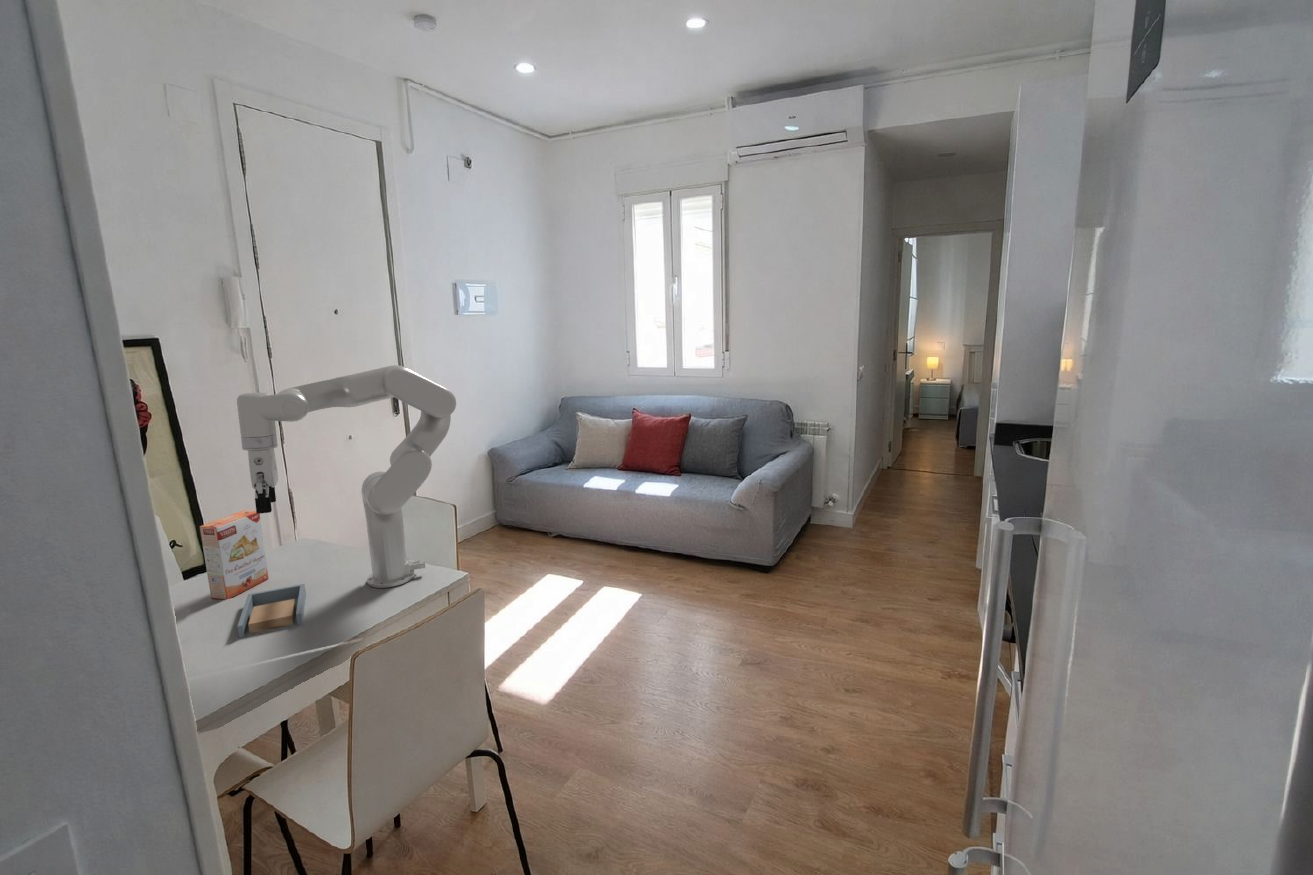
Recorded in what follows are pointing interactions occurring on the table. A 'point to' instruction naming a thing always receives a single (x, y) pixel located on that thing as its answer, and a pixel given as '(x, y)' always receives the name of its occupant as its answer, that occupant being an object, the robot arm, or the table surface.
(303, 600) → the blue-grey open-ended tray
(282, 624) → the tan square slab
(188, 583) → the table surface
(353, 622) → the table surface
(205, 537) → the cracker box
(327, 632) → the table surface
